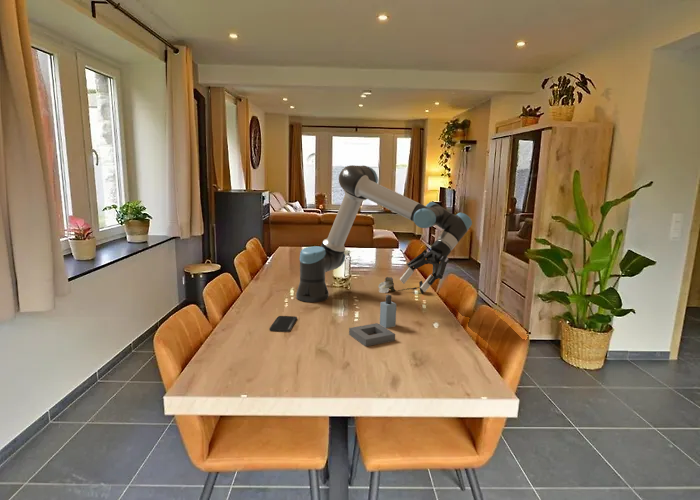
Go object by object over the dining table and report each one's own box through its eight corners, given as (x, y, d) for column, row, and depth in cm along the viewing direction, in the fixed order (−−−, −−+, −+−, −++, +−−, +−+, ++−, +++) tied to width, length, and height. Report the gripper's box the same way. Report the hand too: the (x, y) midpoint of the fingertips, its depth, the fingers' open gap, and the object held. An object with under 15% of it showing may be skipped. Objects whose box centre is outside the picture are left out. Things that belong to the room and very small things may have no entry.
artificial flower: (423, 298, 206) (422, 281, 202) (378, 300, 211) (375, 282, 207) (424, 289, 214) (422, 272, 209) (380, 290, 219) (378, 274, 215)
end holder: (349, 334, 155) (349, 328, 154) (377, 329, 160) (377, 323, 160) (365, 346, 144) (365, 339, 144) (394, 340, 150) (395, 333, 149)
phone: (297, 316, 171) (289, 330, 156) (297, 319, 171) (289, 332, 156) (278, 315, 171) (268, 329, 156) (278, 318, 171) (268, 331, 157)
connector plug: (379, 324, 166) (380, 294, 163) (389, 322, 168) (390, 293, 165) (385, 328, 162) (387, 297, 160) (395, 326, 164) (396, 296, 162)
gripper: (470, 257, 162) (437, 299, 158) (429, 246, 184) (399, 283, 180) (460, 244, 159) (426, 287, 154) (419, 235, 180) (389, 272, 176)
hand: (411, 285), depth 167 cm, fingers open, 13 cm apart
